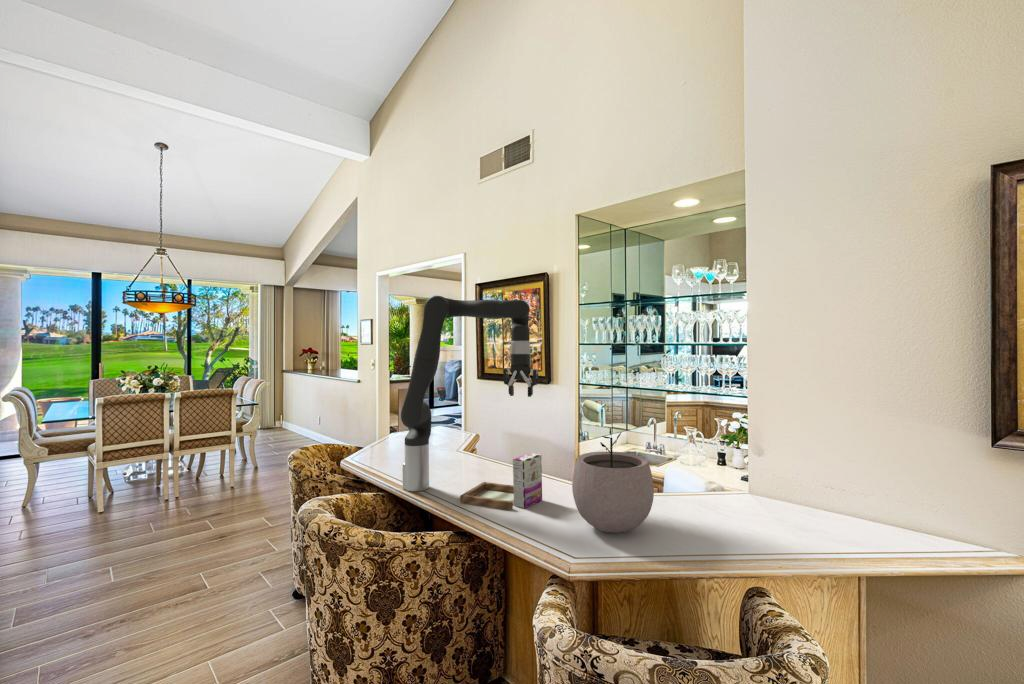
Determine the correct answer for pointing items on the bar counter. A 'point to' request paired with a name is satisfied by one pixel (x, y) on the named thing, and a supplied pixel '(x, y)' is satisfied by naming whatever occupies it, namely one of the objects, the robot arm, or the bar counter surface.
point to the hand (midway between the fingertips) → (520, 396)
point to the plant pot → (613, 489)
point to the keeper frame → (490, 496)
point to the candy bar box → (527, 480)
